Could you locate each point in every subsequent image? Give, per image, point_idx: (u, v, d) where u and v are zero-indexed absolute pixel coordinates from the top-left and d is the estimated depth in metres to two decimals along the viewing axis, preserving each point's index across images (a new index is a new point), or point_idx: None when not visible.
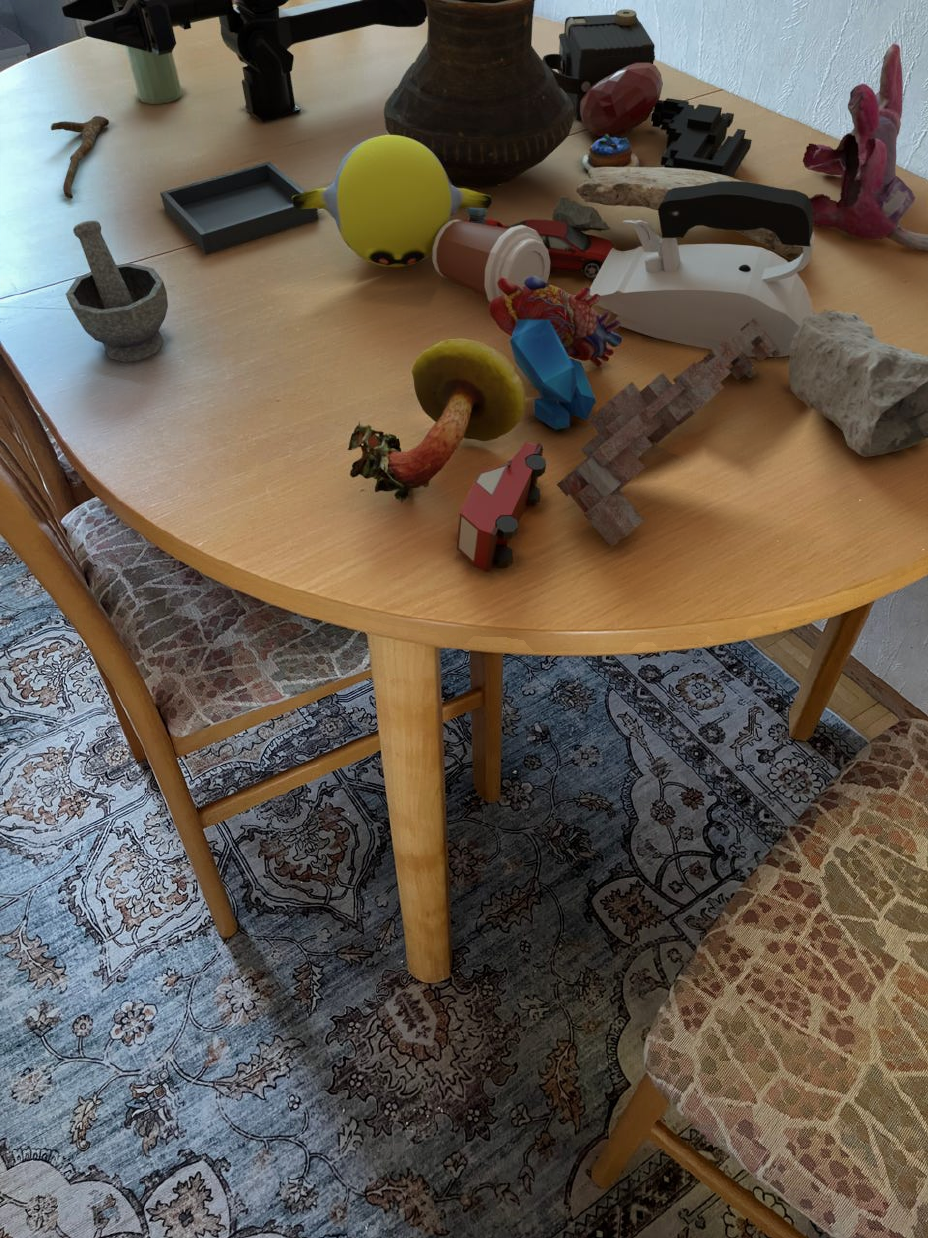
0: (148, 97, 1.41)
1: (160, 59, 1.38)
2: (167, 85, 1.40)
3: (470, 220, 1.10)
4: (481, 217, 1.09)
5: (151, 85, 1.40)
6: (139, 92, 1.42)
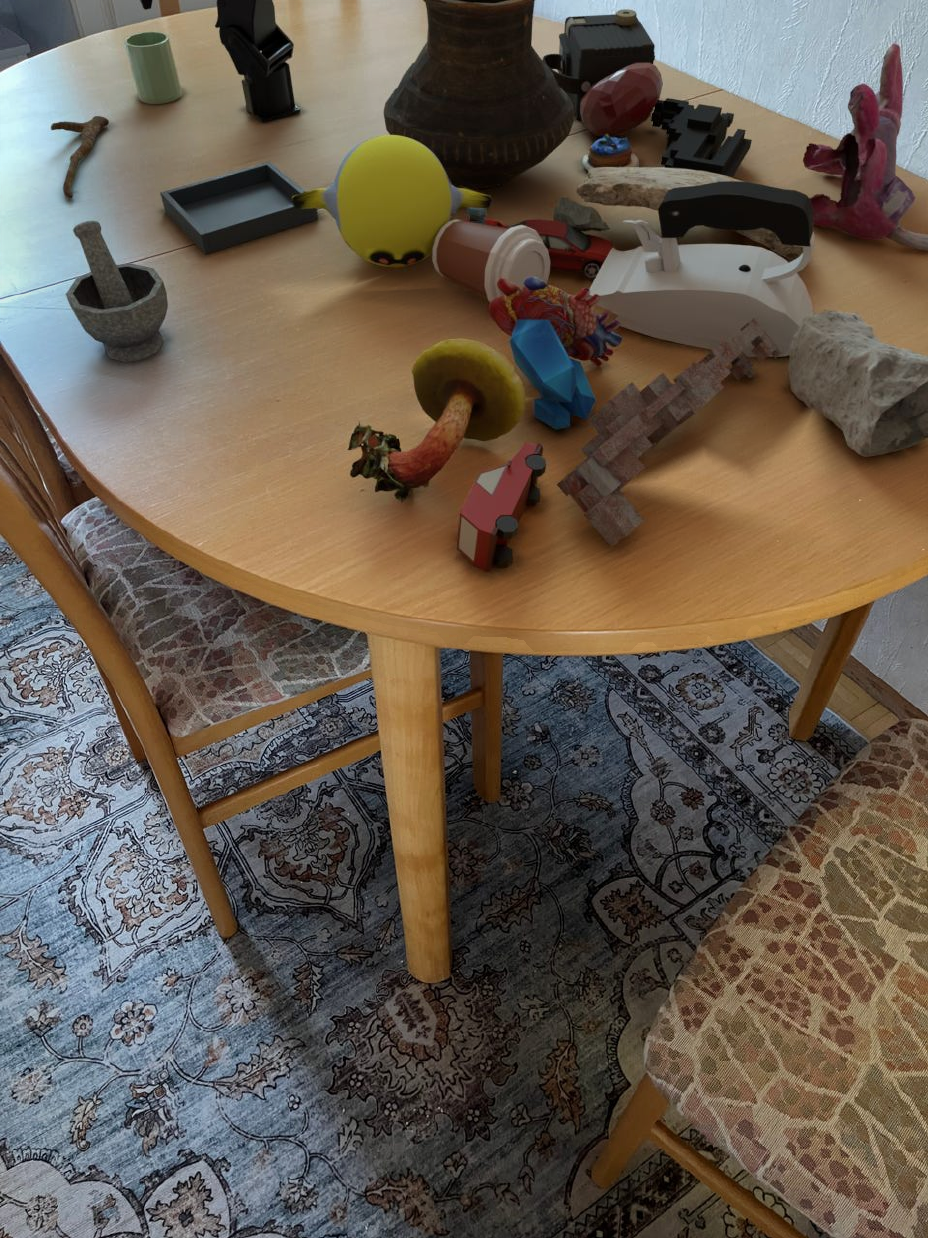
0: (148, 97, 1.41)
1: (160, 59, 1.38)
2: (167, 85, 1.40)
3: (470, 220, 1.10)
4: (481, 217, 1.09)
5: (151, 85, 1.40)
6: (139, 92, 1.42)
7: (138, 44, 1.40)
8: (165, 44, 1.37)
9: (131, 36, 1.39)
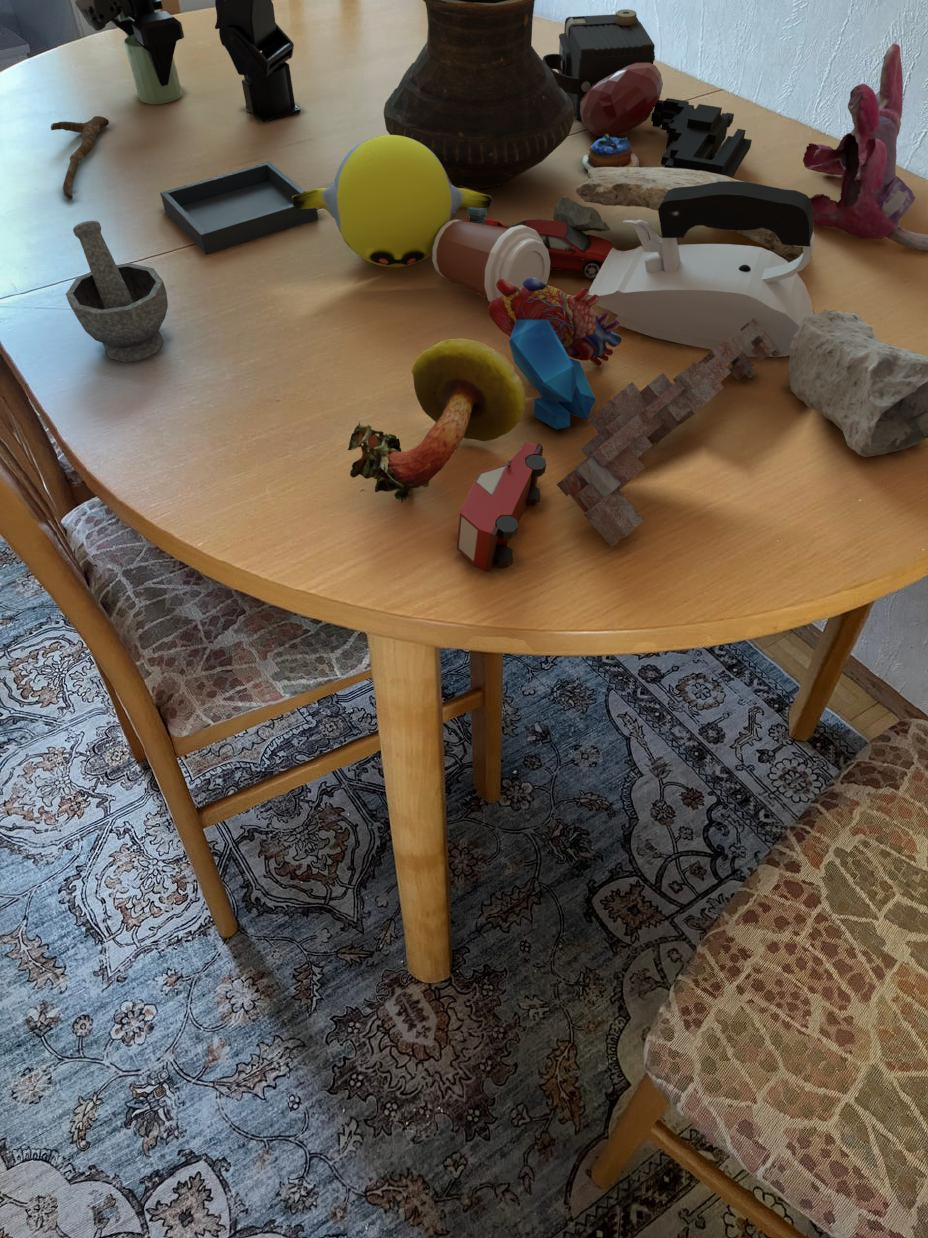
0: (148, 97, 1.41)
1: None
2: (167, 85, 1.40)
3: (470, 220, 1.10)
4: (481, 217, 1.09)
5: (151, 85, 1.40)
6: (139, 92, 1.42)
7: (138, 44, 1.40)
8: None
9: (131, 36, 1.39)
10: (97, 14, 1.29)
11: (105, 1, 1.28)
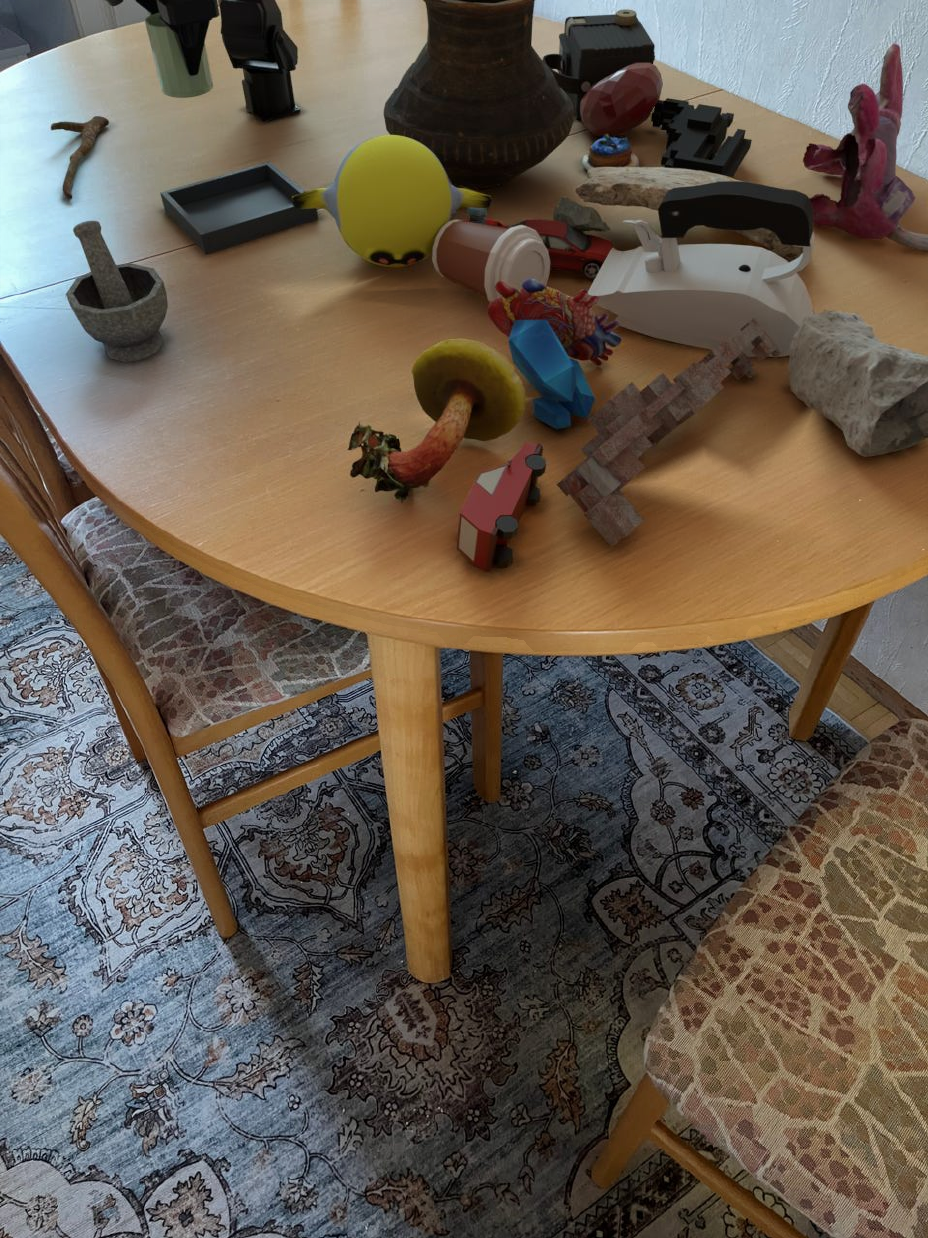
0: (172, 89, 1.17)
1: None
2: (196, 75, 1.16)
3: (470, 220, 1.10)
4: (481, 217, 1.09)
5: (176, 75, 1.15)
6: (162, 83, 1.17)
7: (162, 25, 1.16)
8: None
9: (153, 15, 1.14)
10: None
11: None
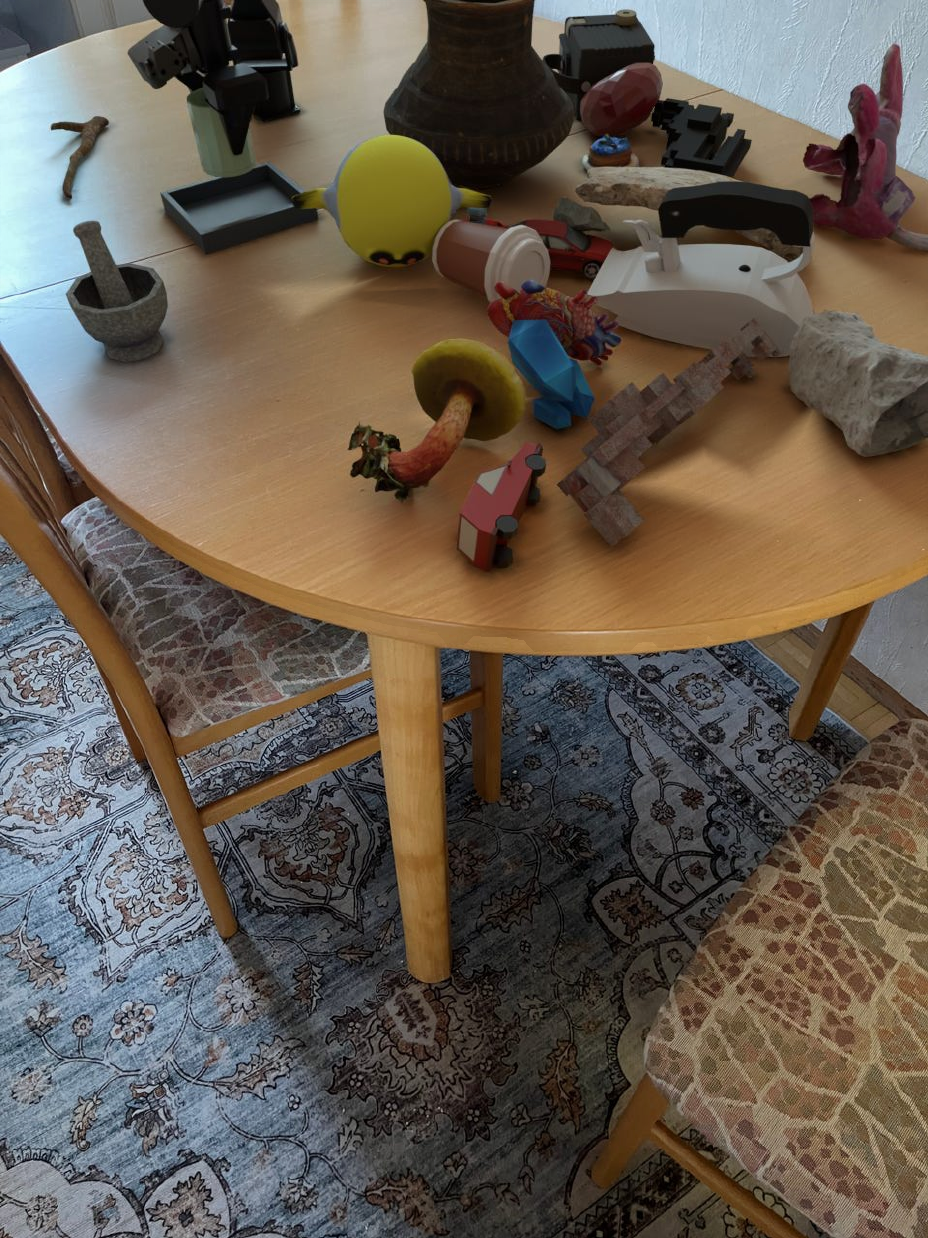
0: (215, 169, 1.10)
1: None
2: (240, 154, 1.10)
3: (470, 220, 1.10)
4: (481, 217, 1.09)
5: (220, 155, 1.09)
6: (203, 162, 1.11)
7: (203, 102, 1.09)
8: None
9: (194, 92, 1.08)
10: (158, 69, 0.98)
11: (169, 52, 0.98)
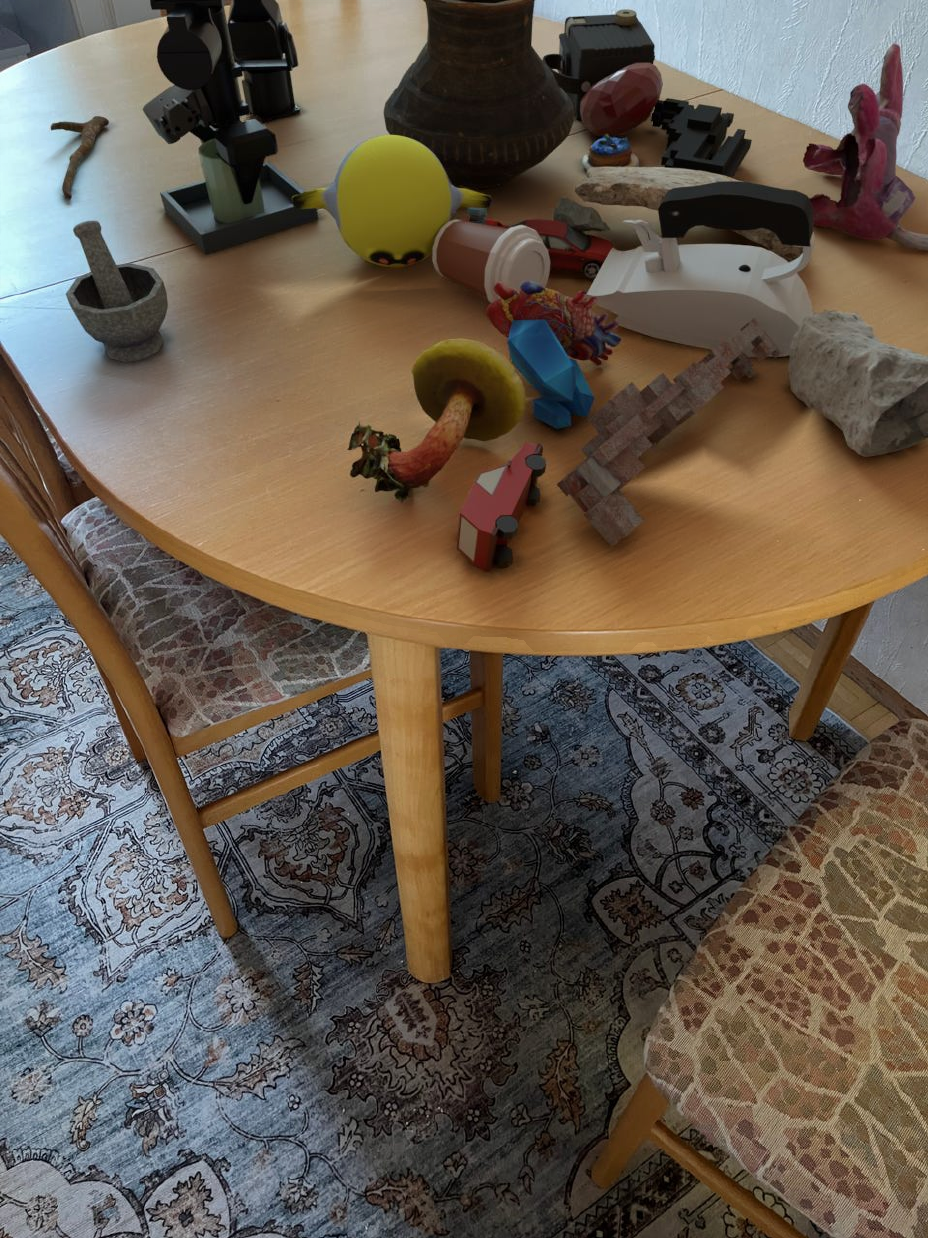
0: (225, 216, 1.15)
1: None
2: None
3: (470, 220, 1.10)
4: (481, 217, 1.09)
5: (230, 203, 1.13)
6: (214, 209, 1.15)
7: (214, 152, 1.14)
8: None
9: (206, 143, 1.12)
10: (172, 127, 1.03)
11: (183, 111, 1.02)
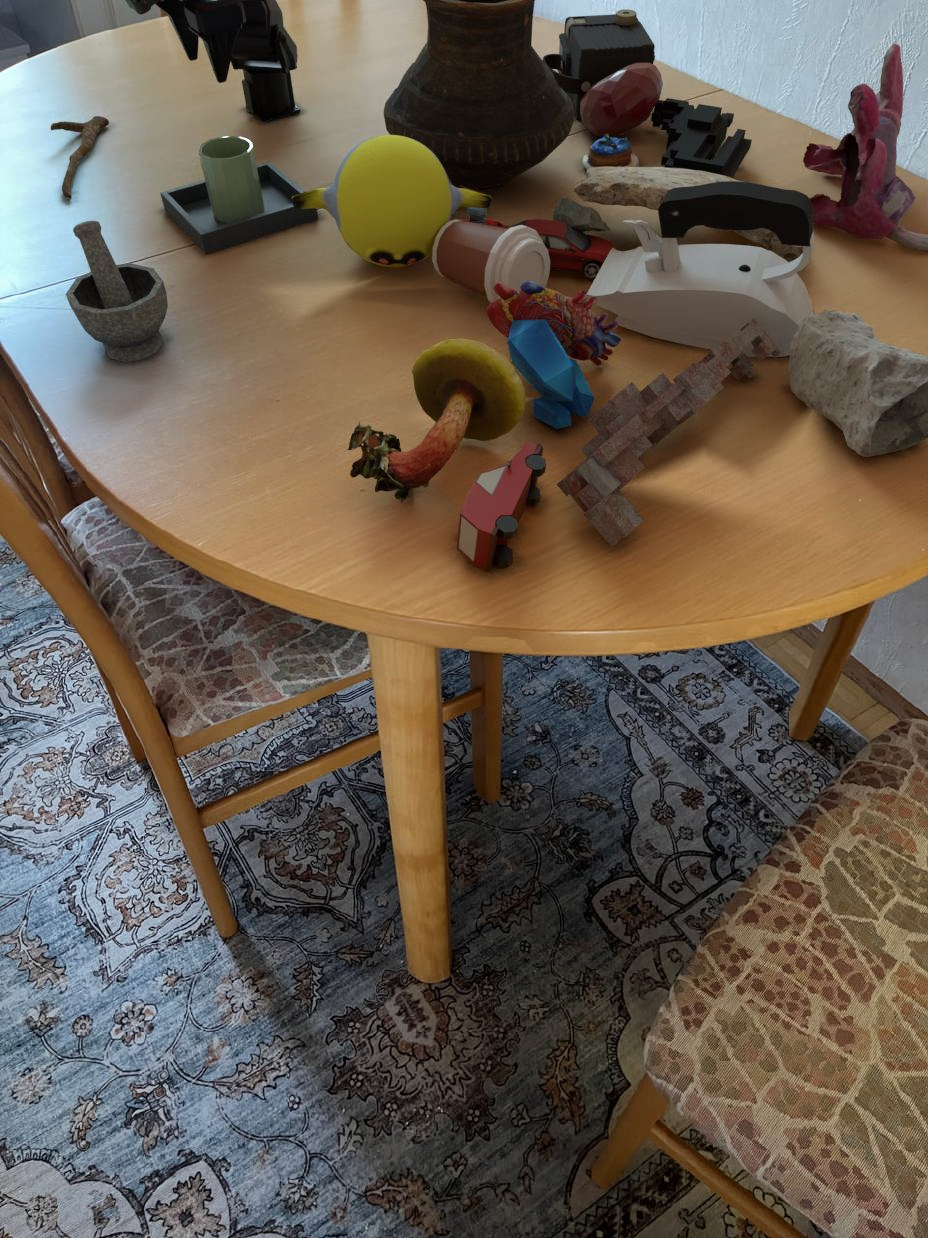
0: (225, 216, 1.15)
1: (243, 173, 1.11)
2: (249, 202, 1.14)
3: (470, 220, 1.10)
4: (481, 217, 1.09)
5: (230, 203, 1.13)
6: (214, 209, 1.15)
7: (214, 152, 1.14)
8: (249, 154, 1.11)
9: (206, 143, 1.12)
10: None
11: None
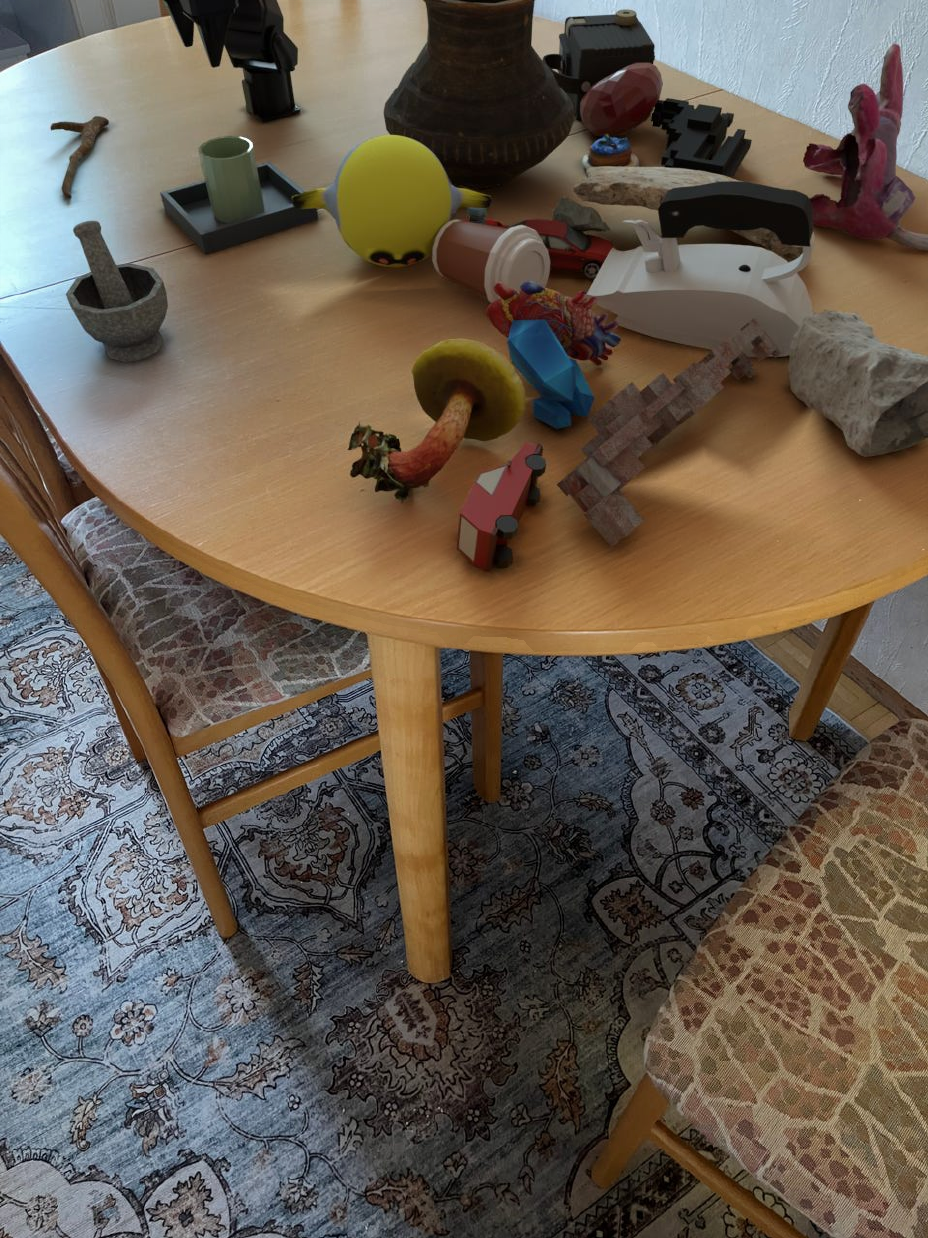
0: (225, 216, 1.15)
1: (243, 173, 1.11)
2: (249, 202, 1.14)
3: (470, 220, 1.10)
4: (481, 217, 1.09)
5: (230, 203, 1.13)
6: (214, 209, 1.15)
7: (214, 152, 1.14)
8: (249, 154, 1.11)
9: (206, 143, 1.12)
10: None
11: None
